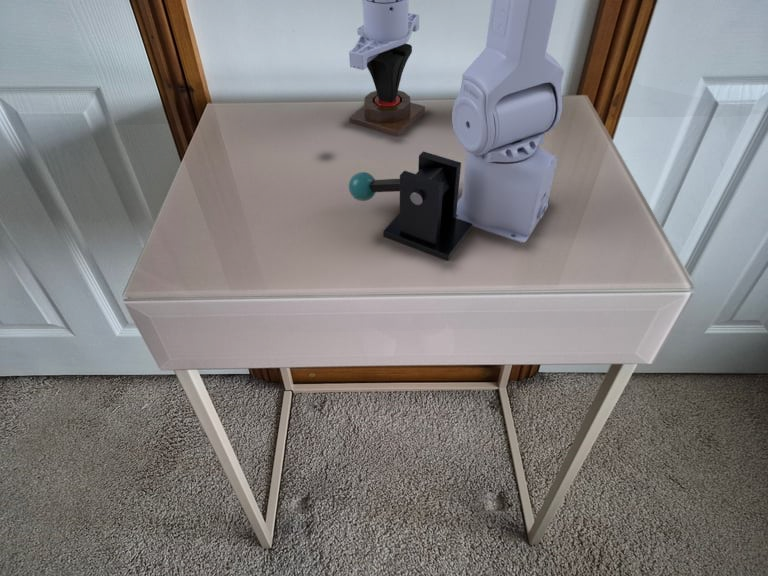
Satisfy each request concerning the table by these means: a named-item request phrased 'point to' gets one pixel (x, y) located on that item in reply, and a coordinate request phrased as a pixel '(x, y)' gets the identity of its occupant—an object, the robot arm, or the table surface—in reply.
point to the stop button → (387, 104)
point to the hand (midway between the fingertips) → (387, 99)
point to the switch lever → (388, 183)
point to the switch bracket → (429, 210)
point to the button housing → (388, 114)
